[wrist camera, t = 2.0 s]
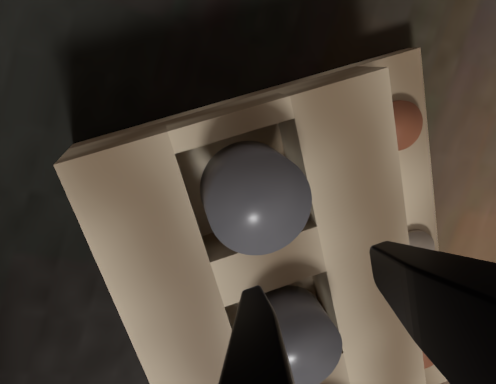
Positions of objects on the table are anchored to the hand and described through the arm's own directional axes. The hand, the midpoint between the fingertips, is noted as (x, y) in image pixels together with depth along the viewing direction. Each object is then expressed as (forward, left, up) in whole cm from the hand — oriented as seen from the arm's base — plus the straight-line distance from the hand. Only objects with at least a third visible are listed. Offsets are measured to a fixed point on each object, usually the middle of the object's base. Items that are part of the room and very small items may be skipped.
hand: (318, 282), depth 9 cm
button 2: (0, 0, -7) cm, 7 cm away
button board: (+2, -7, -10) cm, 12 cm away
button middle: (0, -7, -7) cm, 10 cm away
